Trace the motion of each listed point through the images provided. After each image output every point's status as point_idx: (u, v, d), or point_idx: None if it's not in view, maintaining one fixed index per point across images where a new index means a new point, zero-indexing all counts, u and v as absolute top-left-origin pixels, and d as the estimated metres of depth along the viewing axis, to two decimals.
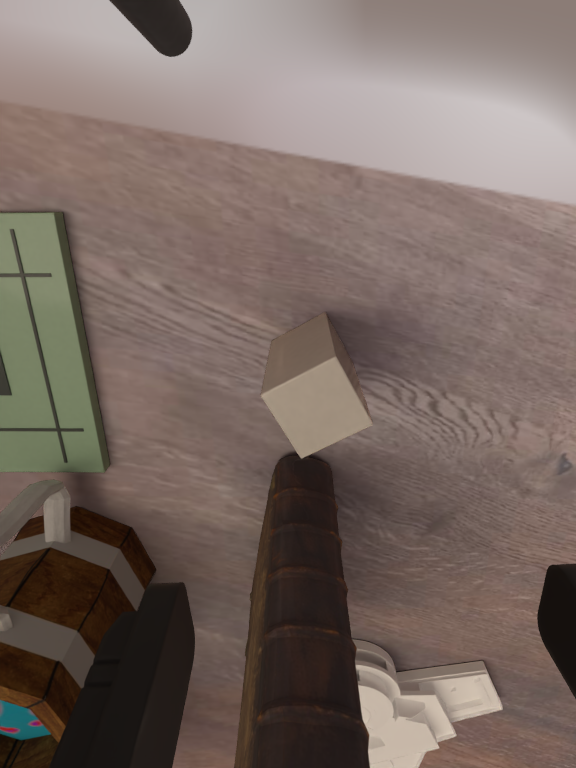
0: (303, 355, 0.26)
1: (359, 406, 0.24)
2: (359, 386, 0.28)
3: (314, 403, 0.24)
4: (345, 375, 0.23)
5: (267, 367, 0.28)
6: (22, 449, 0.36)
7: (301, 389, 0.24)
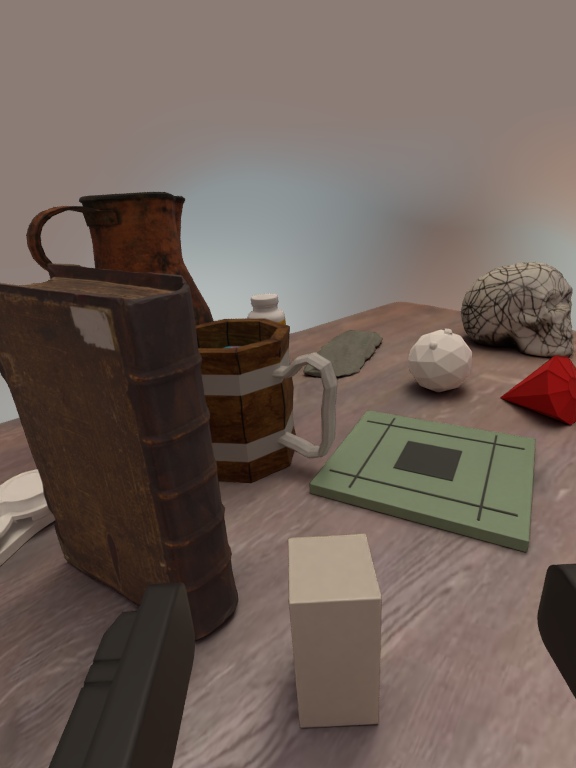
0: None
1: (317, 598, 0.22)
2: (305, 661, 0.24)
3: (339, 566, 0.24)
4: (357, 599, 0.22)
5: None
6: (351, 457, 0.50)
7: (357, 561, 0.24)
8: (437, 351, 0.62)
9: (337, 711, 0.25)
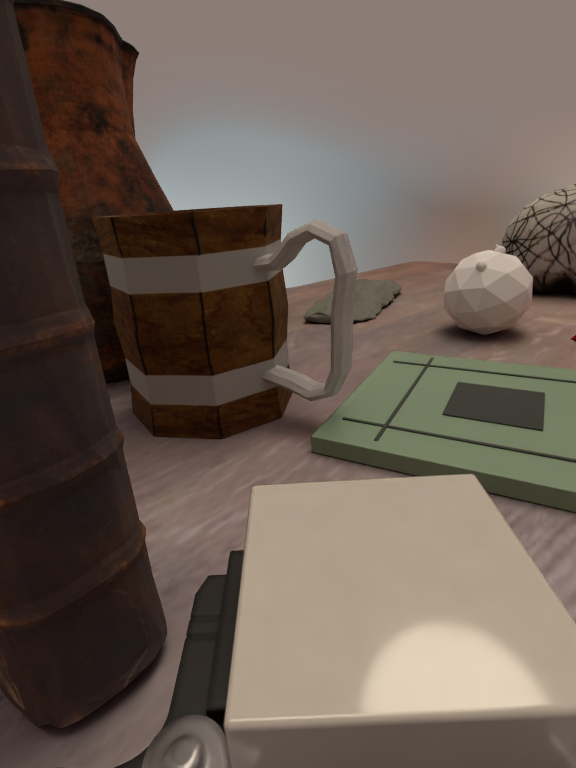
0: None
1: (346, 704, 0.05)
2: None
3: (414, 564, 0.07)
4: (523, 712, 0.05)
5: None
6: (375, 402, 0.33)
7: (475, 549, 0.07)
8: (487, 272, 0.45)
9: None
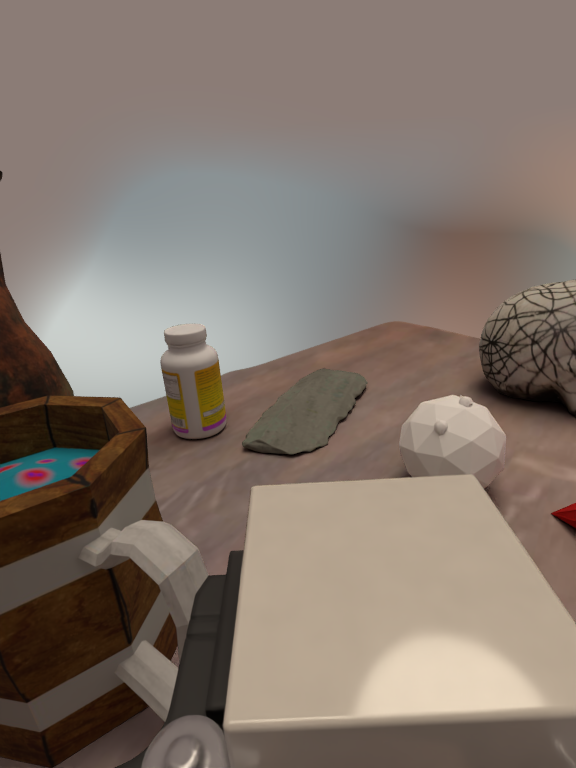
0: None
1: (345, 706, 0.05)
2: None
3: (414, 565, 0.07)
4: (523, 713, 0.05)
5: None
6: None
7: (475, 549, 0.07)
8: (448, 437, 0.36)
9: None
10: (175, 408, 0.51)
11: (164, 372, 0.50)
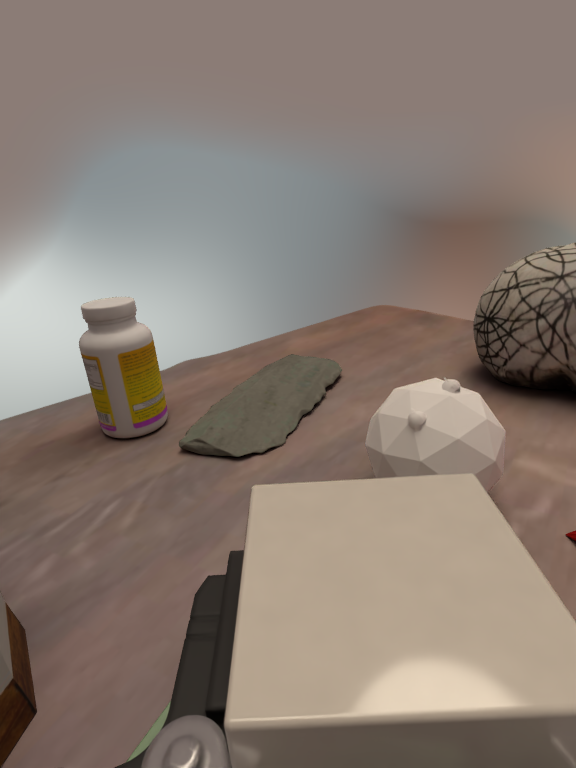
0: None
1: (346, 704, 0.05)
2: None
3: (415, 563, 0.07)
4: (524, 711, 0.05)
5: None
6: None
7: (475, 547, 0.07)
8: (426, 434, 0.27)
9: None
10: (98, 400, 0.42)
11: (82, 356, 0.41)
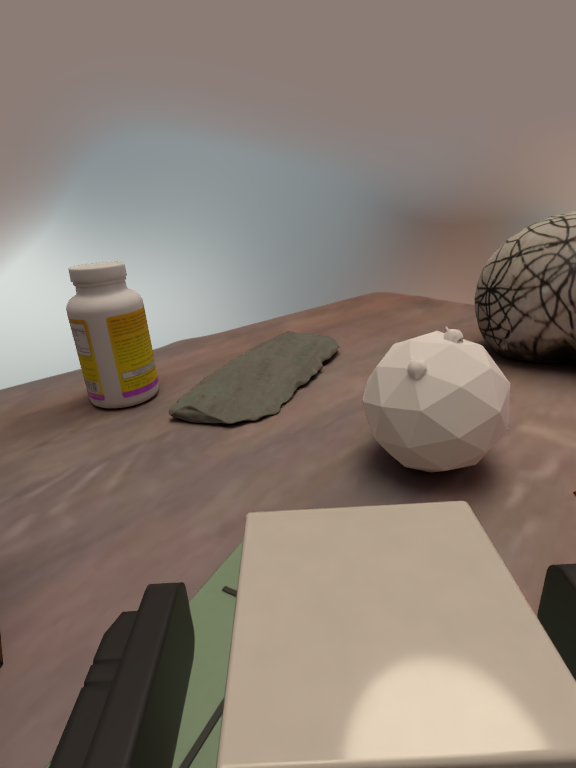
0: None
1: (336, 749, 0.05)
2: None
3: (407, 598, 0.07)
4: (511, 758, 0.05)
5: None
6: None
7: (466, 581, 0.07)
8: (427, 383, 0.25)
9: None
10: (86, 368, 0.40)
11: (70, 320, 0.39)
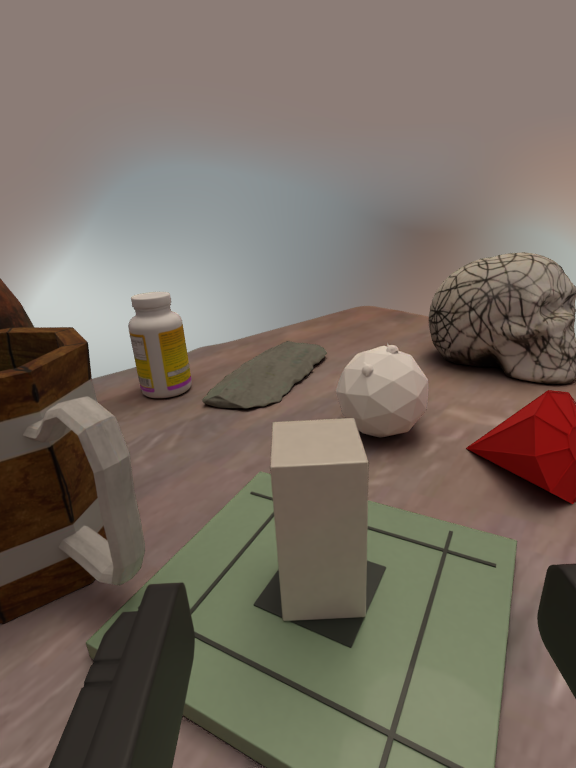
0: None
1: (300, 463, 0.21)
2: (287, 538, 0.22)
3: (324, 440, 0.23)
4: (342, 463, 0.21)
5: None
6: (192, 573, 0.28)
7: (344, 436, 0.23)
8: (373, 378, 0.41)
9: (322, 601, 0.24)
10: (141, 368, 0.56)
11: (131, 335, 0.55)
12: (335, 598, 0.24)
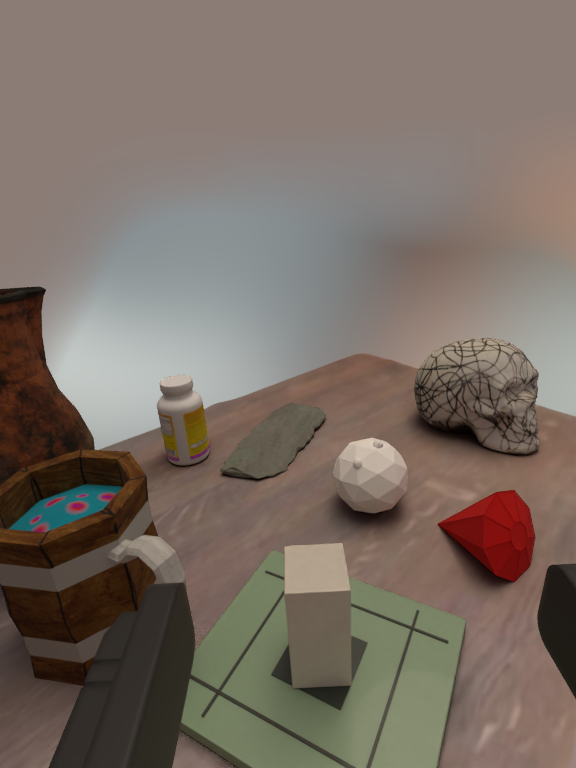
0: None
1: (304, 590, 0.31)
2: (296, 636, 0.32)
3: (321, 567, 0.33)
4: (333, 591, 0.31)
5: None
6: (224, 646, 0.38)
7: (335, 563, 0.33)
8: (362, 471, 0.51)
9: (320, 675, 0.34)
10: (168, 441, 0.66)
11: (160, 414, 0.65)
12: (329, 673, 0.34)
